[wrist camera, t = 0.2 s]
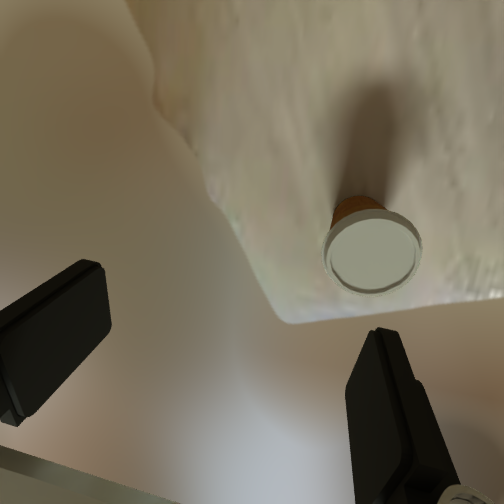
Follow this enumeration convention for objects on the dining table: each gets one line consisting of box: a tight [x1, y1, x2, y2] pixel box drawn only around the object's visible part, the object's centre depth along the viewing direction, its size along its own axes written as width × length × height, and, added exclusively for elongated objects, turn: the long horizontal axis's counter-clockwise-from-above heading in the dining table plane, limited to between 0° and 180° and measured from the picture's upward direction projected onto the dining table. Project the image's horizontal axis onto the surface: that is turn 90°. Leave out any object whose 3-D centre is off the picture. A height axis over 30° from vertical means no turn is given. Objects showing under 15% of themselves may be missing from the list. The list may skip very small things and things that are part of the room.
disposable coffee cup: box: [321, 196, 422, 297], centre depth 33 cm, size 10×10×12 cm
